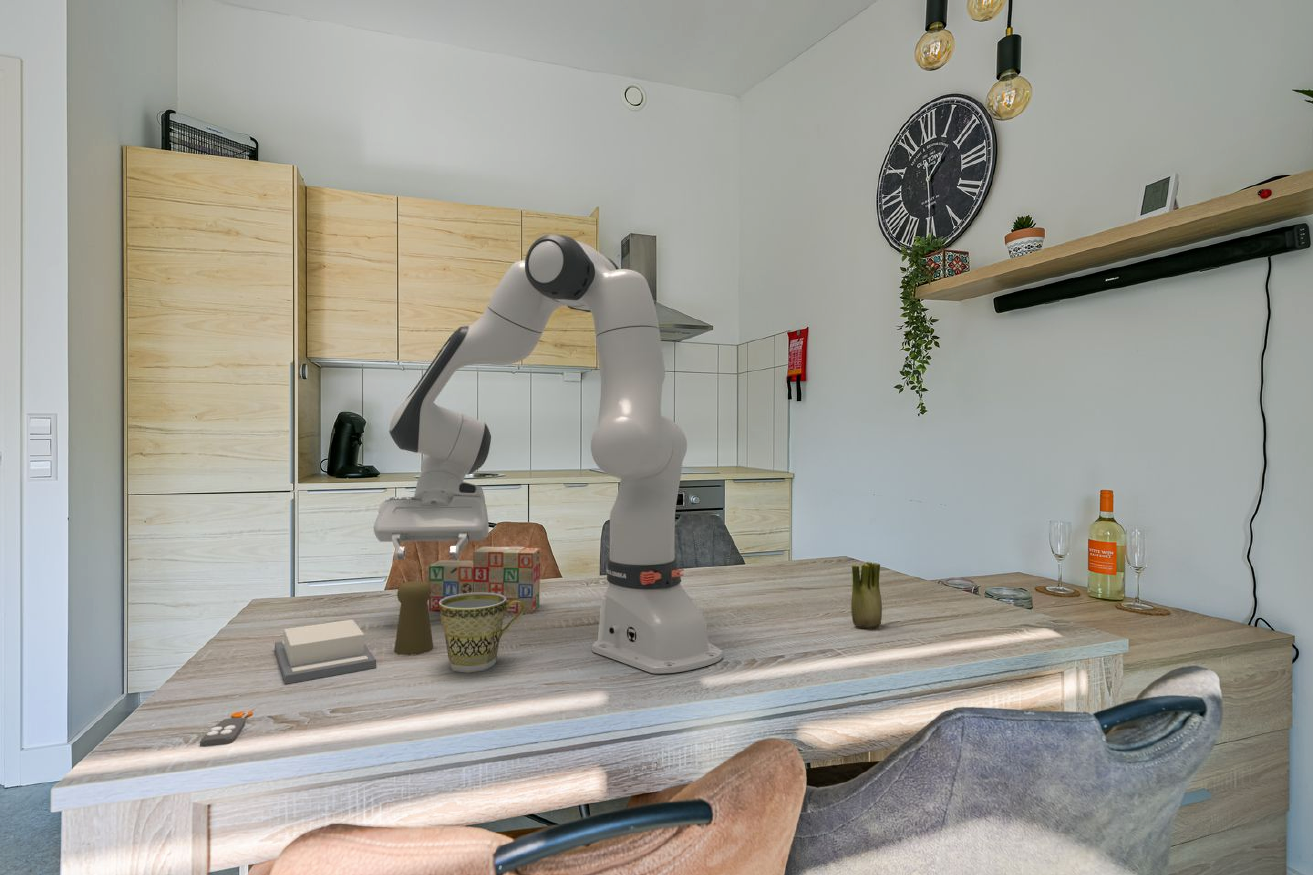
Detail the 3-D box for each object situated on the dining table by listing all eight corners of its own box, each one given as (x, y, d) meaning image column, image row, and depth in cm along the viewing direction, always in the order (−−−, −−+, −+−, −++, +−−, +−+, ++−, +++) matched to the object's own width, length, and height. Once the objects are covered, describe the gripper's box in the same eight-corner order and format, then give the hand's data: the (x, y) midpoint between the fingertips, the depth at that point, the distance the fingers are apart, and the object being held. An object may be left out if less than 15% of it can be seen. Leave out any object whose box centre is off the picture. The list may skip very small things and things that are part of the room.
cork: (400, 643, 110) (401, 578, 110) (437, 642, 111) (437, 577, 111) (389, 655, 104) (389, 586, 104) (427, 654, 105) (428, 586, 105)
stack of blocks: (427, 612, 131) (427, 550, 131) (439, 604, 137) (439, 545, 137) (533, 613, 130) (533, 551, 130) (540, 605, 136) (540, 546, 136)
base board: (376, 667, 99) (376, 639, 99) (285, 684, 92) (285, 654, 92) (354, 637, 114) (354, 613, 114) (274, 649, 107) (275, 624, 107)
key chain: (235, 747, 74) (235, 734, 74) (197, 751, 73) (197, 738, 73) (270, 702, 87) (270, 691, 87) (238, 705, 86) (238, 694, 86)
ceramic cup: (444, 681, 93) (444, 611, 93) (433, 660, 102) (433, 596, 102) (533, 667, 99) (533, 601, 99) (515, 648, 108) (515, 587, 108)
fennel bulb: (851, 629, 120) (852, 564, 120) (848, 622, 124) (848, 559, 124) (885, 631, 119) (885, 565, 119) (880, 624, 123) (880, 560, 123)
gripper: (378, 487, 123) (361, 547, 113) (490, 486, 126) (482, 546, 116) (385, 508, 127) (369, 568, 118) (493, 507, 130) (486, 566, 120)
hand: (426, 557), depth 117 cm, fingers open, 8 cm apart
